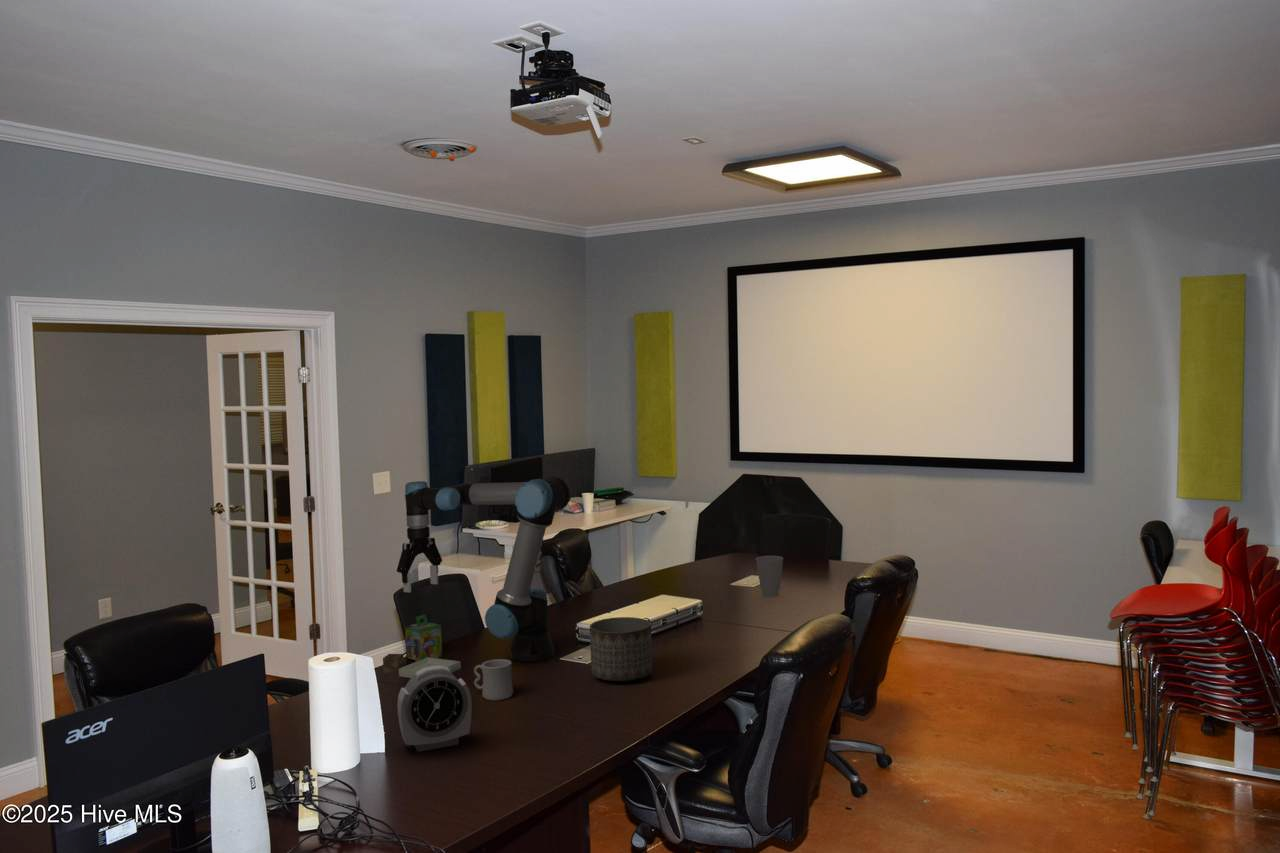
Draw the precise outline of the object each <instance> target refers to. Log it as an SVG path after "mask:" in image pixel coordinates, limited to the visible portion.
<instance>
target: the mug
mask: <svg viewBox="0 0 1280 853" xmlns="http://www.w3.org/2000/svg"><path fill="white" fill-rule="evenodd" d="M512 664H513V663H512V660H509V659H505V658H503V659H501V658H498V659H497V658H496V659H495V658H494V659H490V660H486V661H484V662H482V663H481V664H477V665H476V666H475V667H474V668H473V674H474V675H475V676H476V678H474V681H473V685H474V686H475V687H476V689H478V690H482V692H481V694H482V698H484V699H485V700H488V701H502V700H507V699H509V698H511V697H512V696H513V693H514V689H513V687H514V686H513V683H512V682H513V681H512ZM478 669H481V671H482V677H481V674H480V673H479V672H478ZM481 678H482V684H481V685H480V684H479V683H478V682H479V681H480V679H481Z"/></svg>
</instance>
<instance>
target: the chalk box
mask: <svg viewBox="0 0 1280 853" xmlns="http://www.w3.org/2000/svg"><path fill="white" fill-rule="evenodd" d="M421 619H423V621H422V622H421V621H420V620H421ZM415 621H416V623H413V624H410V625H407V626H404V633H405V638H404V639H405V654H406V657H407V658H408V659H412V660H415V661H414V662H417V661H419V660H422V659H424V658H427V657H431V658H438V659H440V658H442V657H443V638H442V637H443V636H442V633H443V632H442V625H441V624H439V623H434V622H428V618H427V615H426V614H425V613H424V614H421V615H418V616H416V617H415ZM439 657H440V658H439ZM412 660H411V661H412Z"/></svg>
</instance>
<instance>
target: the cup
mask: <svg viewBox="0 0 1280 853" xmlns="http://www.w3.org/2000/svg"><path fill="white" fill-rule="evenodd" d="M783 562H784V557H783V556H780V555H761V556H757V557H756V558H755V563H756V569H757V574H758V579H759V586H760V590H761V593H762V596H763V597H769V598H770V597H777V596H779V594H780V593H779V592H780V589H781V582H782V581H781V580H782V573H783V565H784V564H783Z"/></svg>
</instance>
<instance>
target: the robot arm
mask: <svg viewBox="0 0 1280 853" xmlns="http://www.w3.org/2000/svg"><path fill="white" fill-rule="evenodd" d="M404 493H405V494H404V500H405V510H406V527H407V529H406V536H407V539H408V540H409V542H408V543H407V542H405V543H402V550H401V554H400V556H399V557H400V558H399V561H398V565H397V567H396V572H397V573H400V574H401V582H402V585H403V586H402V588H403V593H412V581H411V580H412V579H411V572H410V569H411V567H412V565H413V563H414V561H415V560H416V557H417V556H418V555H421V554H423V555H424V556H425V557H426V559H427V560H428V561H429V563H430V565H429V575H430V576H429V577H430V584H431V585H439V577H438V575H439V566H441V565H442V564H441V563H442V562H443V559H442V556H441V553H440V551H439V548H438V547H437V544H436V538H435V537H430V536H431V533H430V526H429V525H430V514H429V511H430V510H432V511H433V510H434V511H435V510H436V511H444V512H445V511H453V510H456V509H457V508H459V507H462V506H483V505H485V506H487V505H490V506H491V505H494V506H495V505H514V506H515V507H516V510H517V515H516V517H517V519H518V520H519V525H518V529H517V533H516V537H515V540H514V543H513V544H514V545H513V547H512V553H511V556H510V559H509V563H508V568H507V572H506V576H505V579H504V583H503V587H502V589H500V590H498V591H497V593H496V595H495V596H496V597H495V600H494V603H493V604H492V605H490V606H489V607H488V609H487V610H486V611H485V615H484V621H485V625H486V628H487V630H488V631H489V633H490V634H491V635H493V637H495V638H497V639H502V640H506V639H507V640H508V639H509V638H513V639H512V643H511V646H510V649H509V655H510V656H509V658H510V660H511V661H515V662H520V663H535V662H541V661H546V660H549V659H551V658H553V657H554V656H555V647H554V645H553V642H552V638H551V636H550V633H549V616H548V614H549V613H548V612H549V610H548V609H549V608H548V607H549V606H548V602H549V600H548V597H547V596H548V594H547V592H546V591H545V590H544V589H540V588H531V587H532V582H533V579H534V575H535V571H536V568H537V563H538V559H539V556H540V551H541V548H542V546H543V544H542V543H543V540H544V537H545V533H546V529H547V528H548V527H550V526H551V525H552V524H553V521H554V518H555V515H556V514H555V513H557V512H559V511H562V510H563V509H565V508H566V507H567V506H568V504H569V503H570V501H571V498H572V489H571V487H570V485H569V483H568V482H567V480H565V478H564V479H563V478H562V477H561V476H560V477H559V476H548V477H544V478H543V477H542V478H536V479H530V480H529V481H521V482H520V481H519V482H518V481H517V482H516V481H514V482H513V481H512V482H511V481H510V482H486V483H485V482H483V483H482V482H481V483H479V482H478V483H473V482H463V483H460V484H459V483H458V484H453V485H449V486H443V487H429V486H428V483H427V481H411V482H407V483H406V484H405V488H404Z"/></svg>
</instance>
